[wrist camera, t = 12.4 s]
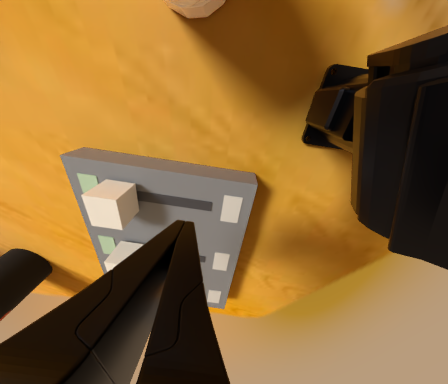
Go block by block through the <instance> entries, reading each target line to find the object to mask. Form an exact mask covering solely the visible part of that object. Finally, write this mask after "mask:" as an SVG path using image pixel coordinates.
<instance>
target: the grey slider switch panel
mask: <svg viewBox="0 0 448 384" xmlns="http://www.w3.org/2000/svg"><path fill="white" fill-rule="evenodd" d="M60 157H61V159H62V162H63V165H64V167H65V170H66V173H67V175H68V178H69V181H70V183H71V186H72V189H73V192H74V194H75V197H76V200H77V202H78V205H79V208H80V210H81V213H82V216H83V218H84V221H85V224H86V227H87V229H88V232H89V235H90V237H91V240H92V243H93V245H94V248H95V251H96V253H97V256H98V259H99V262H100V264H101V267H102V270H103V272H104V274H105V273H107V270H106V267H105V264H104V261H105V260H106V259H107V258H108V256H109V255H110V254H111V253H112V251H113V250H114V249H115V248H116V246H117V245H118V244H119V243H120V241H125V242H132V243H139V244H145V243H147V242H148V241H149V240H151V239H152V238H153V237H155V236H156V235H157V234H159V233H160V232H161V231H163V230H164V229H165V228H167V227H168V226H169V225H170V224H172V223H173V222H174V221H176V220H184V221H185V222H186V221H191V222H194V224H195V230H196V237H197V243H198V250H199V256H200V262H201V269H202V275H203V283H204V288H205V294H206V299H207V304H208V307H214V308H221V309H224V308H225V304H226V300H227V297H228V293H229V289H230V286H231V282H232V278H233V275H234V271H235V267H236V264H237V260H238V256H239V253H240V249H241V245H242V242H243V238H244V234H245V231H246V227H247V223H248V220H249V216H250V212H251V208H252V205H253V201H254V197H255V194H256V190H257V186H258V183H257V180H256V176H255V173H250V172H244V171H237V170H230V169H224V168H217V167H211V166H204V165H198V164H191V163H184V162H178V161H171V160H165V159H158V158H152V157H145V156H138V155H132V154H125V153H119V152H112V151H106V150H99V149H92V148H86V147H83V148H80V149H77V150H74V151H71V152H68V153H65V154H62V155H60ZM106 179H108V180H115V181H121V182H128V183H135V185H136V192H137V199H138V205H139V212H138V213H137V214H136V215H135V216H134V217H133V219H132V220H131V221H130V222H129V223H128V224H127V226H126V227H125V228H124V229H123V230H118V229H111V228H104V227H98V226H92V225H91V222H90V219H89V216H88V213H87V210H86V208H85V205H84V202H83V199H82V196H81V195H82V194H84V193H85V192H87V191H88V190H90V189H92V188H93V187H95V186H96V185H98V184H100V183H101V182H103V181H104V180H106Z"/></svg>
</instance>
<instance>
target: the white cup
mask: <svg viewBox="0 0 448 384" xmlns="http://www.w3.org/2000/svg"><path fill="white" fill-rule="evenodd" d="M163 1H164V2H165V3H166V4H167V6H168V7H169V8H171V9H173V10H174V11H176V12H178V13H180V14H181V15H183V16H185V17H186V18H202V17H208V16H209V15H210V14H212V13H213V12H214V11H216V10H217V9H218V8H219V7H221V6H222V5H223V4H224V3H225V1H226V0H163Z"/></svg>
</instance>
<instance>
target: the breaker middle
mask: <svg viewBox="0 0 448 384" xmlns="http://www.w3.org/2000/svg"><path fill="white" fill-rule="evenodd" d="M143 245H144V244H139V243H132V242H125V241H120V243H119V244H118V245H117V246H116V248H115V249H114V250H113V251H112V253H111V254H110V255H109V256H108V258H107V259H106V260H105V261H104V264H105V267H106V270H107V272H108V271H109V270H112V269H113V267H115V266H116V265H117V264H119V263H120V262H121V261H123V260H124V259H125V258H127V257H128V256H129V255H131V254H132V253H133V252H135V251H136V250H137V249H139V248H140V247H141V246H143Z"/></svg>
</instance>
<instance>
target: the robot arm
mask: <svg viewBox="0 0 448 384" xmlns="http://www.w3.org/2000/svg"><path fill="white" fill-rule="evenodd" d="M367 67H369V69H363V68H357V67H351V66H344V65H338V64H334V65H331V66H330V67H329V68H328V69H327V70H326V72H325V75H324V78H323V81H322V83H321V86H320V89H319V90H317V91H316V93H315V95H314V98H313V101H312V104H311V107H310V109H309V112H308V115H307V118H306V123H307V125H306V127H305V130H304V133H303V136H302V141H303V142H304V143H306V144H312V145H318V146H324V147H331V148H337V149H344V150H346V151H348V152H351V153H352V182H351V205H352V207H353V209H354V211H355V212H356V214H357V215H358V220H359V221H360V222H361V223H362V224H364V225H365V226H366V227H367V228H369V229H371V230H372V231H374V232H376V233H378V234H380V235H382V236H383V237H386V238H388V239H389V244H388V250H389V251H391V252H393V253H397V254H401V255H405V256H410V257H413V258H417V259H421V260H424V261H426V262H429V263H432V264H434V265H437V266H440V267H443V268H445V269H448V25H447V26H445V27H442V28H439V29H437V30H434V31H432V32H429V33H426V34H424V35H421V36H418V37H416V38H413V39H410V40H408V41H405V42H402V43H400V44H397V45H394V46H392V47H389V48H386V49H384V50H381V51H378V52H376V53H373V54H370V55H368V57H367ZM332 69H334V70H335V73H334V75H331V70H332ZM307 136H309V139H308V140H306V137H307ZM150 332H151V334H150ZM149 334H150V338H149V341H148V345H147V349H146V352H145V358H144V360H143V363H142V367H141V370H140V373H139V377H138V380H137V383H136V384H230V381H229V378H228V375H227V372H226V369H225V365H224V362H223V358H222V355H221V352H220V348H219V345H218V341H217V338H216V334H215V331H214V328H213V324H212V320H211V317H210V313H209V309H208V304H207V299H206V294H205V288H204V283H203V275H202V269H201V262H200V256H199V250H198V243H197V237H196V230H195V224H194V222H191V221H186V222H185V221H184V220H176V221H174V222H173V223H172V224H170V225H169V226H168V227H167V228H165V229H164V230H163V231H161V232H160V233H159V234H157V235H156V236H155V237H153V238H152V239H151V240H149V241H148V242H147V243H145V244H144V245H143V246H141V247H140V248H139V249H137V250H136V251H135V252H133V253H132V254H131V255H129V256H128V257H127V258H125V259H124V260H123V261H121V262H120V263H119V264H117V265H116V266H115V267H113V269H112V270H109V271H108V272H107V273H105V274H104V275H103V276H101V277H100V278H99V279H97V280H96V281H94V282H93V283H92V284H90V285H89V286H88V287H86V288H85V289H83V290H82V291H80V292H79V293H77V294H76V295H74V296H73V297H71V298H70V299H68V300H67V301H65V302H64V303H62V304H61V305H59V306H58V307H56V308H55V309H53V310H52V311H50V312H49V313H47V314H46V315H44V316H42V317H41V318H39V319H38V320H36V321H35V322H33V323H32V324H30V325H29V326H27V327H26V328H24V329H22V330H21V331H19V332H18V333H16V334H15V335H13V336H12V337H10V338H9V339H7V340H5V341H4V342H2V343H0V384H130V381H131V379H132V377H133V374H134V372H135V369H136V367H137V364H138V362H139V359H140V357H141V354H142V352H143V349H144V347H145V344H146V342H147V339H148V337H149Z"/></svg>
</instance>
